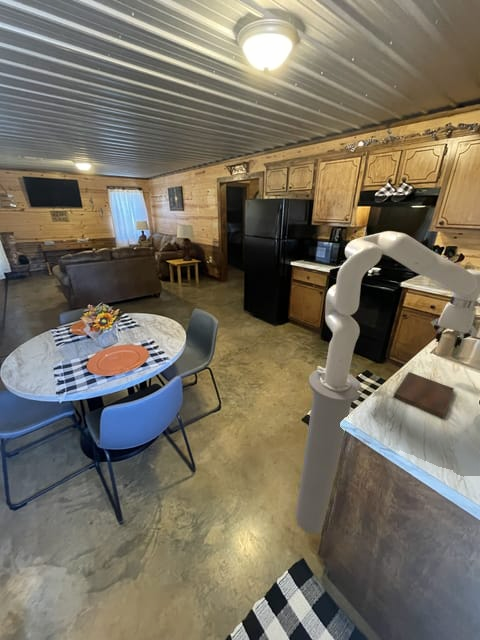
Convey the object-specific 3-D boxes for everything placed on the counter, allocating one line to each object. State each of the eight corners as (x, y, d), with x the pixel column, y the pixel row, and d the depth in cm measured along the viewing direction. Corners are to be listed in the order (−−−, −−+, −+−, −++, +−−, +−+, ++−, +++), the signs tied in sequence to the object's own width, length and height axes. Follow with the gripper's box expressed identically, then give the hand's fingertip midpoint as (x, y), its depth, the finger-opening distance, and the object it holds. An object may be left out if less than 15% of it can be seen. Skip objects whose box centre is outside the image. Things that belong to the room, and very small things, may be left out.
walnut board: (393, 397, 103) (394, 393, 102) (407, 375, 116) (408, 371, 115) (442, 418, 92) (444, 414, 92) (452, 391, 105) (453, 388, 105)
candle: (449, 358, 106) (457, 336, 102) (433, 353, 110) (441, 331, 106) (452, 353, 110) (460, 332, 106) (436, 348, 113) (444, 328, 109)
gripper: (492, 306, 98) (474, 348, 105) (437, 295, 108) (424, 333, 116) (491, 311, 93) (472, 354, 100) (434, 299, 103) (420, 339, 111)
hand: (446, 343), depth 108 cm, fingers closed on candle, 5 cm apart
